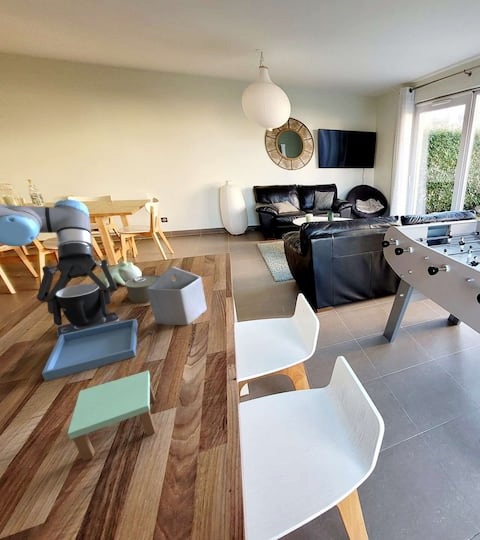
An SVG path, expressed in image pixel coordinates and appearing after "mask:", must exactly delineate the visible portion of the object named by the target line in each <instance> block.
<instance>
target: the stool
mask: <svg viewBox="0 0 480 540" xmlns="http://www.w3.org/2000/svg"><path fill="white" fill-rule="evenodd" d="M154 402H156V396H155V393H154V390H153V387H152V383H151V374H150V371H149V370H145V371H142V372H138V373H136V374H132V375H128V376H125V377H122V378H119V379H115V380H111V381H109V382H105V383H102V384H98V385H94V386H92V387H88V388H85V389H82V390H81V389H80V390H79V393H78V395H77V399H76V403H75V406H74V410H73V413H72V417H71V420H70V424H69V427H68V431H67V436H68V438H69V440H73V442H74V444H75V447H76V449H77V451H78V453H79V455H80V457H81V459H82V461H83V462H86V461H88V460H92V459H94V457H95V452H96V451H95V449H94V446H93V445H92V443H91V440H90V438H89V436H88V434H89V433H92V432H95V431H97V430H98V431H99V430H101V429H103V428H106V427H108V426H111V425H114V424H117V423H120V422H123V421H125V420H128V419H131V418H135V417H136V416H139V417H140V420H141V423H142V426H143V429H144V431H145V432H144V433H145V435H146V437H148V436H149V437H150V436H151V435H154V434H156V425H155V423H154V419H153V416H152V413H151V408H150V407H151V404H152V403H154Z"/></svg>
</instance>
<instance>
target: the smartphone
mask: <svg viewBox="0 0 480 540" xmlns="http://www.w3.org/2000/svg"><path fill="white" fill-rule="evenodd" d="M118 322H120V318H119V317H118V314H117V313H116V312H113V311H112V312H110V313H109V312H108V316H104V315H103V318H102V320H101V321H99V322H98V323H95V324H93V325H89V326H85V327H76V326H74V325H72V324H71V323H70V322H69V323H65V324H62V325H58V326H57V327H56V332H57V337H58V338H59V336H60V335H62V334H66V333H71V332H76V331H80V330H85V329H90V328H94V327H99V326H104V325H108V324H113V323H118Z"/></svg>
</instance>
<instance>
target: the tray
mask: <svg viewBox="0 0 480 540" xmlns="http://www.w3.org/2000/svg"><path fill="white" fill-rule="evenodd" d="M138 325H139V324H138V321H137V318H133V319H127V320H123V321H118V322H115V323H112V324H108V325H104V326H99V327H94V328H90V329H85V330H80V331H76V332H71V333H66V334H62V335H60V336H59V337H58V339H57V341H56V343H55V345H54V347H53V349H52V351H51V353H50V355H49V358H48V359H47V362H46V363H45V366H44V368H43V370H42V372H41V375H42V377H43V379H44V381H45V382H47V381H52V380H55V379H58V378H62V377H66V376H70V375H73V374H77V373H80V372H85V371H89V370H92V369H95V368H99V367H102V366H106V365H111V364H113V363H117V362H121V361H124V360H125V361H126V360H127V359H132V358H136V356H137V343H138V342H137V341H138V327H139V326H138Z"/></svg>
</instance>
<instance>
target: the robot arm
mask: <svg viewBox="0 0 480 540" xmlns="http://www.w3.org/2000/svg"><path fill="white" fill-rule="evenodd" d="M90 217H91V216H90V213H89V207H87V205H86V204H85V203H83V202H81V201H79V200H74V199H64V200H58V201H56V202H55V203H54V205H53V206H34V205H33V206H32V205H31V206H30V205H15V204H14V205H13V204H0V245H3V246H7V247H13V248H14V247H16V248H17V247H24V246H27V245H29V244H31V243H32V242H34V241H35V240H36V239H37V238H38V237H39V236H40V234H43V233H44V234H46V233H49V234H53V233H55V235H56V247H57V261H58V262H57V263H56V265H54V266H47V265H45V266H42V273H43V275H42V278H41V281H40V285H39V288H38V291H37V294H36V300H38V301H39V302H40V303H47V312H48V313H49V314H50V315H52V316H53V323H54V324H55V325H56V326H62V325H63V321H62V320H63V319H62V309H61V307H60V305H59V303H58V301H57V298H56V293H57V292H58V291H59V290H61V289H63V288H66V287H67V285H68V284H69V282H71V280H72V279H77V278H85V277H89V278H90V279H91V280H92V281H93V282H94V284H95V283H96V284H97V285H98V286H99V287H100V288H101V289H100V290H101V292H100V299H101V308H102V314H103V315H104V316H108V313H109V311H108V305H110V304H112V295H111V294H112V293H113V292H117V291H118V290H119V288H118V285H116V284H115V282H114V280H113V278H112V276H111V273H110V271H109V268H110V264H109V262H108V260H107V259H102V260H98V261H97V260H95V254H94V248H93V246H94V245H93V244H94V243H93V238H92V229H91V228H92V227H91V218H90ZM96 267H98V268H99V269H101V270H102V272H104V274H105V276H106V278H107V280H108V282H109V284H110V287H108V288H107V287H106V286H105V285H104V284H103V283H102V282H101V281H100V280H99V278H98V276H97V275H96V274H95V273H94V272H93V271H94V270H95V269H96ZM58 271H59V272H60V274H59V277H58V279H57V281H56V283H54V286H53V287H52V284H53V282H54V276H55V275H56V274H57V272H58ZM51 288H52V289H51Z"/></svg>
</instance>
